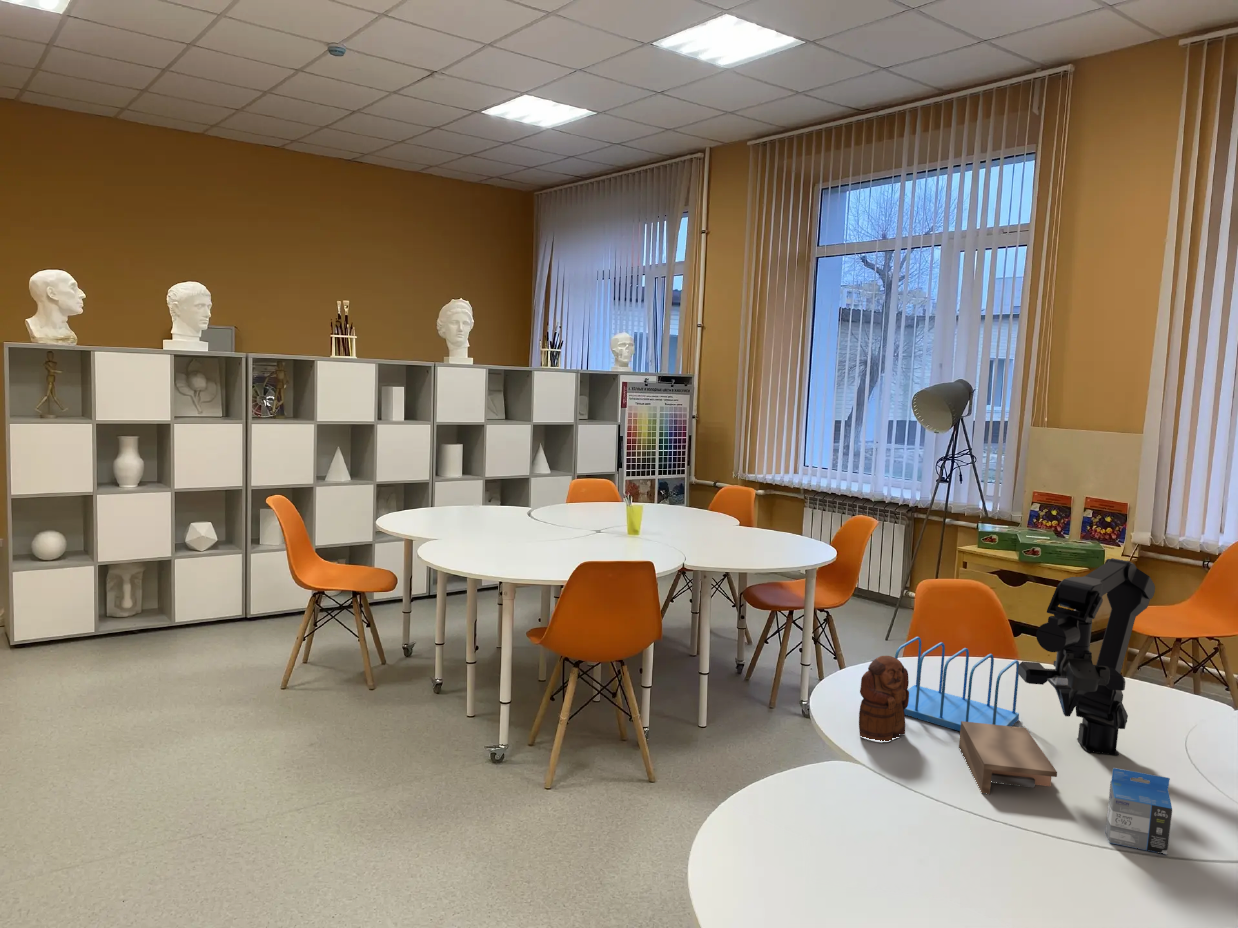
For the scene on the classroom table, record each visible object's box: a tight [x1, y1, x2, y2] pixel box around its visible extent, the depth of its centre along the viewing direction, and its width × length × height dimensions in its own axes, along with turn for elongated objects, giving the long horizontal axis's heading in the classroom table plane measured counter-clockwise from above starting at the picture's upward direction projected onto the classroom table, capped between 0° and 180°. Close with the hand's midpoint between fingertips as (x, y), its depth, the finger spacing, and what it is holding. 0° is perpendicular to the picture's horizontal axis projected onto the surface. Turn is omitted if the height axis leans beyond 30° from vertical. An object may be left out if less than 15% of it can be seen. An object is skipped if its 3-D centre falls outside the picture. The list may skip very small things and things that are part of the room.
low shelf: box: [958, 721, 1058, 795], centre depth 171 cm, size 13×20×6 cm, turn 170°
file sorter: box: [894, 636, 1020, 732], centre depth 198 cm, size 25×17×15 cm
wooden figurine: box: [858, 655, 910, 741], centre depth 185 cm, size 12×6×18 cm, turn 125°
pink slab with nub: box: [992, 770, 1052, 787], centre depth 170 cm, size 12×7×4 cm, turn 80°
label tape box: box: [1105, 767, 1173, 855], centre depth 146 cm, size 9×4×12 cm, turn 68°
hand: (1066, 715), depth 173 cm, fingers closed
